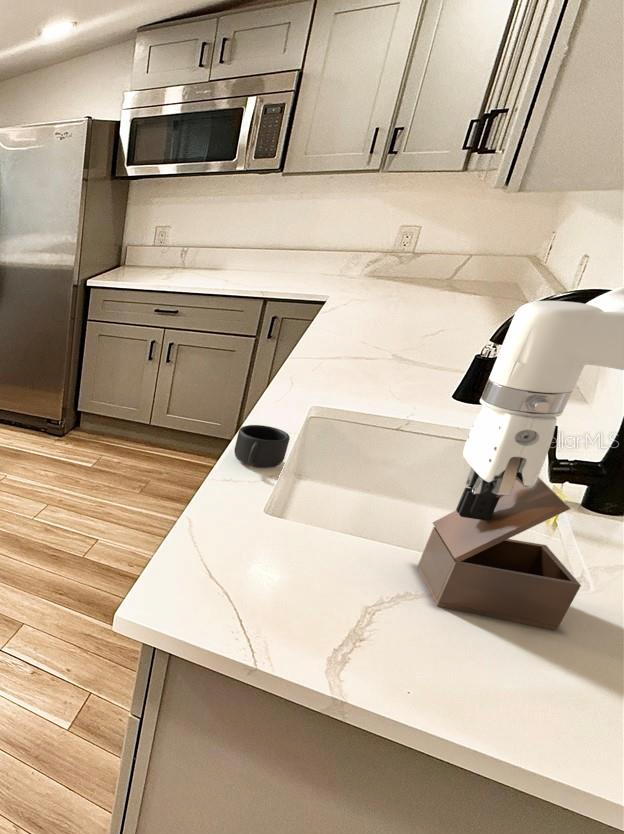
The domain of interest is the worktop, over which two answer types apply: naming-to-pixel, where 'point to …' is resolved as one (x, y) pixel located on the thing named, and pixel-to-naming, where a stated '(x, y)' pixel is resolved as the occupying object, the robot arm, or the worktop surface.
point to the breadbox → (500, 581)
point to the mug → (261, 446)
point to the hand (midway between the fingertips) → (472, 515)
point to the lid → (500, 520)
